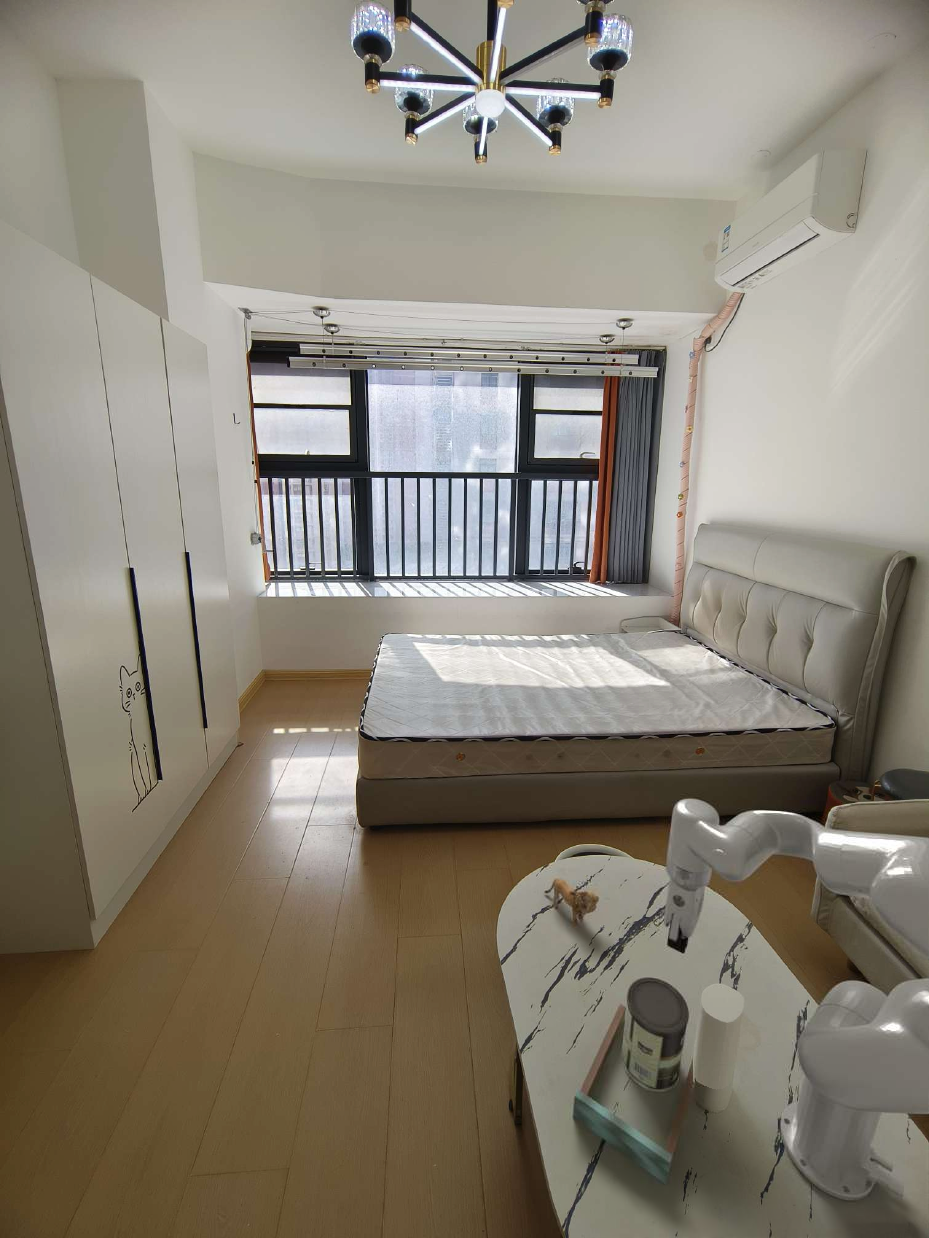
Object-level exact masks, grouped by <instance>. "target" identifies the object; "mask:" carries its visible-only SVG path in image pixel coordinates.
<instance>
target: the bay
mask: <svg viewBox="0 0 929 1238" xmlns="http://www.w3.org/2000/svg"><path fill="white" fill-rule="evenodd" d="M626 1008H627V1006H624V1005H623V1004H622V1003H620V1004H619V1005H618V1006H617V1010H616V1012H615V1014H614V1016H613V1018H612V1020H611V1022H610V1025H609V1027H608V1029H607V1032H606V1033H605V1035H604V1038H603V1040H602V1042H601V1044H600V1046H599V1049H598V1051H597V1053H596V1055H595V1057H594V1059H593V1061H592V1063H591V1066H590V1068H589V1070H588V1072H587V1075H586V1076H585V1078H584V1081H583V1084H582V1085H581V1087H580V1089H578V1088H577V1090H576V1091H575V1094H574V1097H573V1098H574V1099H573V1110H572V1117H573V1118H574V1119H576V1120H577V1121H578V1122H580V1123H581V1124H583V1126H586V1127H587V1128H588V1129H589V1130H590V1131H592V1132H593V1133H594V1134H596V1135H598V1137H600V1138H602V1139H603V1140H604V1141H606V1142H607V1143H608V1144H610V1145H611V1147H612V1146H613V1148H615V1149H617V1150H618V1151H619V1152H620V1153H622V1154H624V1156H626V1157H628V1158H629V1159H630V1160H632V1161H633V1162H634V1163H636V1164H637V1165H638V1166H639V1167H641V1168H642V1169H643V1170H645V1171H647V1172H648V1173H649V1174H651V1175H652V1176H653V1177H655V1178H656V1179H657V1180H659V1181H660V1182H662V1184H664V1185H667V1184H668V1181H669V1178H670V1174H671V1170H672V1166H673V1163H674V1159H675V1156H676V1152H677V1150H678V1146H679V1142H680V1138H681V1134H682V1131H683V1128H684V1127H683V1126H684V1124H685V1120H686V1117H687V1113H688V1110H689V1105H690V1103H691V1100H692V1095H693V1093H692V1092H694V1089H693V1085H694V1082H693V1058H692V1059H691V1063H690V1066H689V1070H688V1072H687V1076H686V1079H685V1082H684V1085H683V1089H682V1092H681V1096H680V1099H679V1103H678V1105H677V1106H678V1107H677V1110H676V1114H675V1116H674V1119H673V1122H672V1126H671V1129H670V1132H669V1133H670V1134H669V1137H668V1139H667V1142H666V1146H665V1149H664V1148H663V1147H662V1146H660V1145H659V1144H657V1143H655V1142H654V1141H653V1140H651V1139H650V1138H649V1137H647V1136H645V1134H643V1133H641V1132H640V1131H638V1130H637V1129H635V1128H634V1127H633V1126H631V1125H630V1124H629V1123H628V1122H625V1121H624V1120H623V1119H621V1118H620V1117H618V1116H617V1115H616V1114H614V1113H612V1112H611V1111H610V1110H609V1109H607V1108H606V1107H604V1106H603V1105H601V1104H600V1103H598V1102H597V1101H595V1100H594V1099H593V1098H592V1097H591V1096H592V1094H593V1091H594V1089H595V1088H596V1084H598V1083H597V1082H598V1081H599V1078H600V1076H601V1073H602V1071H603V1069H604V1067H605V1064H606V1062H607V1060H608V1058H609V1055H610V1053H611V1051H612V1048H613V1046H614V1044H615V1041H616V1039H617V1037H618V1036H619V1035H618V1034H619V1032H620V1030H621V1027H622V1026H623V1023H624V1022H625V1018H626Z"/></svg>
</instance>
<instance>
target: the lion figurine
mask: <svg viewBox="0 0 929 1238" xmlns="http://www.w3.org/2000/svg"><path fill="white" fill-rule="evenodd" d="M552 891H553V900H552V901H553V908H554V909H559V905H558V902H557V899H558V897H559V896H561V898H562V899H563V901H564V902H565V904H567V906H569V907H570V908H571V911H572V912H571V913H572V923H573V925H578V924H579V921H578V917H579V918H580V917H581V918H584V916H586V915H587V914H590V913H593V912H595V910H596V909H597V907H598V906H597V904H598V903H599V901H600V900H599V899H600V897H599V896H598V895H595V893H594V891H592V890H590V889H587V890H584V891H582V890H581V891H575V890H573V889H572V888H571V887H570V886H569V885H568V883H567V881H566V880H565V879H563V878H559V877H556V878H554V880H553V881H552V884H551V887H550V888H549V889H548V890H545V891H544V893H545V894H549V893H551V892H552Z"/></svg>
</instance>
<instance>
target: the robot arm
mask: <svg viewBox="0 0 929 1238" xmlns="http://www.w3.org/2000/svg"><path fill="white" fill-rule="evenodd" d="M671 814H672V815H671V823H670V831H669V836H668V837H669V838H668V839H669V840H668V847H667V855H666V860H665V861H666V862H665V871H666V874H667V875H668V877H669V883H668V887H667V895H666V901H665V906H664V907H665V909H664V915H663V925H664V926H665V927H666V928H668V927H669V929H668V936H667V944H666V945H667V946H668V948H670V949H673V950H674V951H676V952H679V953H681V954H685V952H686V949H687V947H688V944H689V938H690V937H693V935H694V932H695V929H696V926H697V924H698V921H699V919H700V916H701V913H702V910H703V906H704V899H705V889H706V887H707V886H708V885H709V884H710V881H711V877H712V871H713V872H714V873H716V874H717V875H718V876H720V878H723V879H724V880H726V881H728V882H733V883H740V882H743V881H745V880H746V879H747V878H749V877H750V876H751V875H752V874H753V873H754V872H755V871H757V870H758V868H760V866H762V865H763V864H764V863H765V862H766V861H767V860H768V859H769V858H770V857H771V856H772V855H779V856H780V855H781V856H790V857H797V858H802V859H806V860H809V861H812V862H813V867H814V870H815V873H816V875H817V877H818V879H819V881H820V883H821V884H822V885H823V886H824V887H825V888H826V889H827V890H828V891H830V892H832V893H835V894H838V895H843V896H848V897H849V896H850V897H856V898H863V899H868V900H870V901H871V904H872V907H873V908H874V910H875V912H876V914H877V915H878V916H879V917H880V919H881V920H882V921H883V922H884V923H885V924H886V925H887V927H888V928H890V930H892V931H893V932H894V933H896V935H897V936H898V937H900V939H901V940H903V941H904V942H905V943H906V944H908V945H909V946H910V947H911V948H913V949H914V950H915V951H916V952H918V953H919V954H920V955H921V956H923V957H924V958H925V959H927V960H928V961H929V837H925V836H924V837H923V836H922V837H921V836H913V835H912V836H911V835H904V834H903V835H900V834H888V833H875V832H865V831H853V830H843V829H831V828H828V827H826V826H824V825H822V824H821V823H819V822H817V821H816V820H813V819H811V818H809V817H806V816H804V815H802V814H798V813H795V812H788V811H778V810H763V809H762V810H747V811H745V812H742V813H739V814H737V815H736V816H735V817H732V819H731V820H729V821H727V823H726V824H724V825H720V815H719V813H718V812H717V810H716V809H715V808H714V807H713V806H712V805H711V804H709V803H707V802H705V801H704V800H700V799H696V798H683V799H680V800H679V801H677V802H676V803H675V804H674V806H673V809H672V813H671ZM796 1047H797V1051H796V1052H797V1058H798V1059H797V1060H798V1063H799V1065H800V1068H801V1070H802V1072H803V1074H804V1077H803V1082H802V1085H801V1088H800V1091H799V1097H798V1100H797V1101H794V1102H791V1103H790V1104H788V1105H787V1106H786V1107H785V1108H784V1110H783V1112H782V1114H781V1118H780V1123H779V1125H780V1135H781V1140H782V1144H783V1145H784V1148H785V1150H786V1151H787V1155H789V1158H790V1159H791V1161H792V1162H793V1163H794V1165H795V1166H796V1168H797V1169H798V1170H799V1171H800V1173H801V1174H802V1175H804V1177H805V1178H806V1179H808V1180H809V1181H810V1182H811V1183H812V1184H813V1185H815V1186H816V1187H817V1188H818V1189H820V1190H821V1191H823V1192H825V1193H826V1194H828V1195H831V1196H832V1197H835V1198H836V1199H840V1200H845V1201H850V1202H851V1201H859V1200H862V1199H865V1198H866V1197H867V1196H868V1195H869V1194H870V1193H871V1191H872V1189H873V1187H874V1185H876V1183H877V1184H879V1185H881V1186H882V1187H884V1188H886V1190H888V1191H889V1192H891V1193H893V1194H895V1195H896V1196H898V1197H899V1198H900V1199H902V1198H903V1197H904V1194H905V1193H904V1191H905V1184H904V1182H903V1181H902V1180H900V1179H899V1178H897V1177H895V1176H894V1175H892V1174H890V1173H888V1172H891V1173H892V1172H893V1167H894V1164H893V1163H894V1162H893V1161H892V1160H890V1159H889V1158H887V1157H886V1156H883V1155H881V1154H879V1153H878V1152H876V1151H875V1149H874V1148H873V1147H872V1146H871V1145H872V1143H873V1140H874V1137H875V1134H876V1130H877V1126H878V1124H879V1121H880V1118H881V1114H882V1113H888V1114H889V1113H890V1114H913V1115H915V1114H916V1115H929V977H927V978H925V977H924V978H919V979H911V980H910V979H909V980H905V981H903V982H900V983H899V984H897V985H896V986H895V987H894V988H893V989H892V990H891V991H890V993H889V994H888V995H886V994H885V993H884V992H883V991H882V990H880V989H878V988H877V987H875V986H873V985H872V984H869V983H867V982H864V981H860V980H846V981H842V982H840V983H837V984H836V985H835V986H834V987H832V988H831V989H830V990H829V992H828V993H826V995H825V997H824V998H823V999H822V1000H821V1002H820V1003H819V1005H818V1007H817V1008H816V1010H815V1012H814V1014H813V1015H812V1017H810V1019H809V1021H808V1022H807V1024H806V1025H805V1027H804V1028H803V1030H802V1032H801V1033H800V1036H799V1038H798V1041H797V1046H796ZM878 1165H880V1166H881V1168H883V1169H885V1170H886V1171H888V1172H886V1171H883V1169H880V1168H879V1166H878Z"/></svg>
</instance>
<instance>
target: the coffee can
mask: <svg viewBox="0 0 929 1238" xmlns="http://www.w3.org/2000/svg"><path fill="white" fill-rule="evenodd" d="M689 1018H690V1011H689V1007H688V1003H687V1002H686V1000H685V997H683V995H682V994H681V993H680V991H678V989H677V988H675V987H674V986H673V985H672V984H669V983H668V982H667V981H664V980H662V979H659V978H656V977H651V976H650V977H647V976H646V977H641V978H638V979H636V980H634V981H633V982H632V983H631V984H630V986H629V987H628V989H627V993H626V1011H625V1019H624V1028H623V1029H624V1030H623V1037H622V1046H621V1052H620V1053H621V1054H620V1056H621V1061H622V1065H623V1067H624V1069H625V1071H626V1072H627V1073H626V1074H628V1076H629V1078H631V1080H633V1082H634V1083H636V1084H637V1085H638V1086H640V1087H641V1088H643V1089H645V1090H647V1091H650V1092H654V1093H666V1092H668V1091H670V1090H672V1089H673V1088H674V1087H675V1086H676V1085H677V1084H678V1082H679V1079H680V1074H681V1073H680V1072H681V1064H682V1058H683V1051H684V1043H685V1039H686V1032H687V1026H688V1023H689Z"/></svg>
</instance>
